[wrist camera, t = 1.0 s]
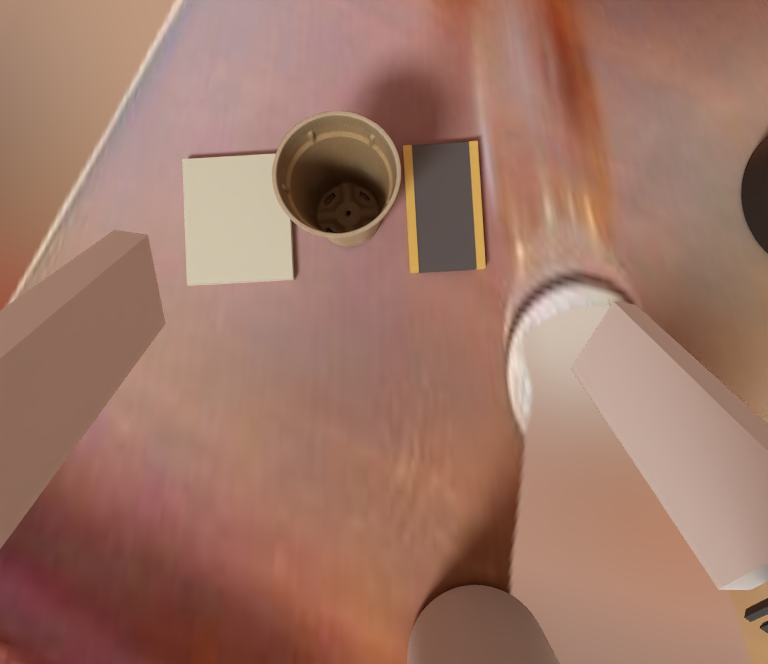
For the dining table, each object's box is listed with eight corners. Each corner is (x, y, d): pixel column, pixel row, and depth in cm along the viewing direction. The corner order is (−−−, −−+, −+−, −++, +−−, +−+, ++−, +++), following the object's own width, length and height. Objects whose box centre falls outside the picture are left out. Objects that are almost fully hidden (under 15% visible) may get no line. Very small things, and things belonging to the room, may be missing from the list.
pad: (288, 155, 36) (287, 152, 35) (294, 279, 35) (293, 278, 35) (185, 162, 36) (182, 159, 35) (190, 285, 36) (187, 284, 35)
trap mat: (475, 144, 36) (477, 140, 35) (483, 269, 35) (485, 267, 35) (402, 149, 36) (403, 145, 35) (409, 273, 35) (410, 271, 35)
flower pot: (316, 154, 36) (293, 94, 27) (410, 181, 36) (417, 129, 27) (287, 247, 36) (255, 216, 27) (381, 275, 35) (379, 253, 27)
